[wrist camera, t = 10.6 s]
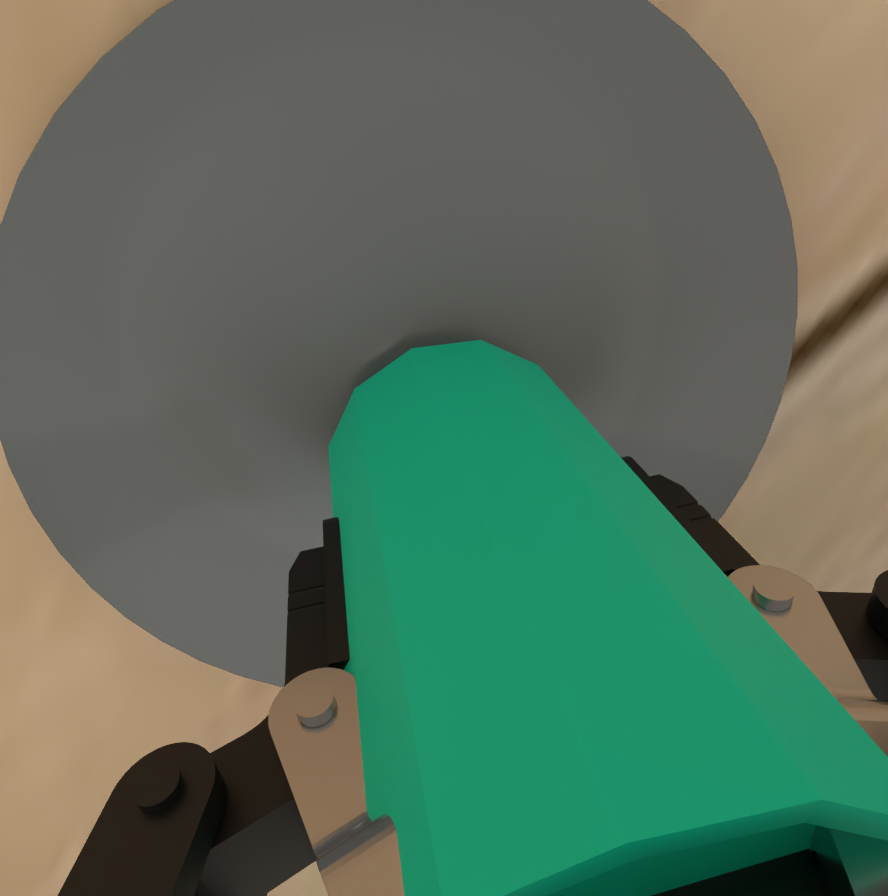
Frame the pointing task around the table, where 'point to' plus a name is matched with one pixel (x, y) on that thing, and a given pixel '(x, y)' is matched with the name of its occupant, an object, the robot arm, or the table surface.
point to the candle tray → (369, 272)
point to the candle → (562, 655)
